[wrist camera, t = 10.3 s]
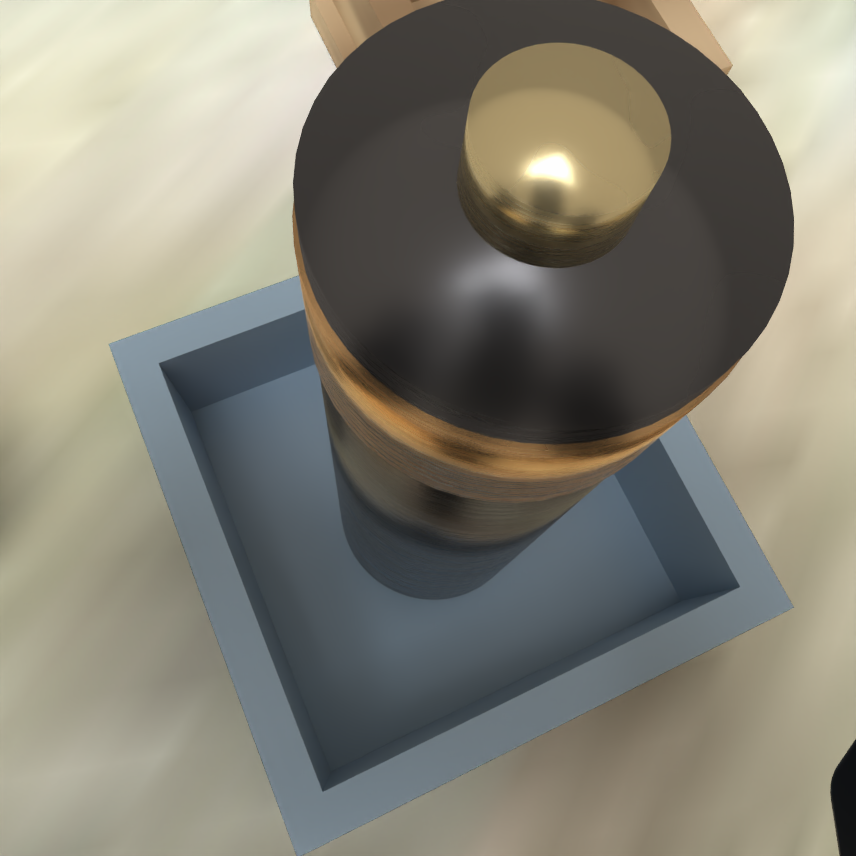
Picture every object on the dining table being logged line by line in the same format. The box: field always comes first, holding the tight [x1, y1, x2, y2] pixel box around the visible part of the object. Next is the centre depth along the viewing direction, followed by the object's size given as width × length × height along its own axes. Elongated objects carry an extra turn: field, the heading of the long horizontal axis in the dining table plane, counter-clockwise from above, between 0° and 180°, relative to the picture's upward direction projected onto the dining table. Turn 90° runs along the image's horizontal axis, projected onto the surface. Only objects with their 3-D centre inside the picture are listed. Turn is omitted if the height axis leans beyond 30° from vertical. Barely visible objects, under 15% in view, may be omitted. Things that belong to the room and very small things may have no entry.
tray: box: [109, 276, 794, 856], centre depth 18 cm, size 11×11×4 cm
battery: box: [292, 0, 794, 600], centre depth 13 cm, size 4×4×14 cm
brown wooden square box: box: [310, 0, 733, 75], centre depth 22 cm, size 9×9×4 cm
